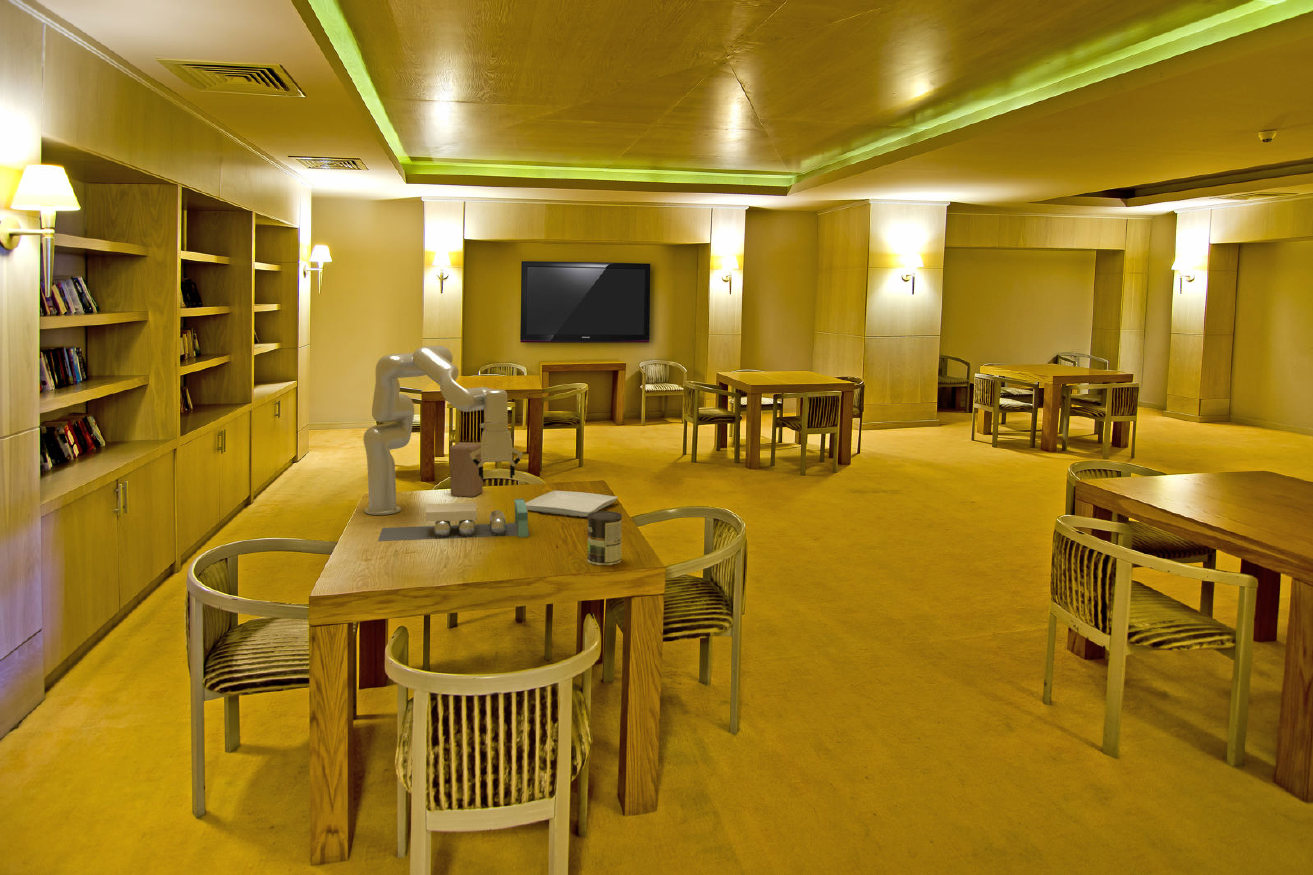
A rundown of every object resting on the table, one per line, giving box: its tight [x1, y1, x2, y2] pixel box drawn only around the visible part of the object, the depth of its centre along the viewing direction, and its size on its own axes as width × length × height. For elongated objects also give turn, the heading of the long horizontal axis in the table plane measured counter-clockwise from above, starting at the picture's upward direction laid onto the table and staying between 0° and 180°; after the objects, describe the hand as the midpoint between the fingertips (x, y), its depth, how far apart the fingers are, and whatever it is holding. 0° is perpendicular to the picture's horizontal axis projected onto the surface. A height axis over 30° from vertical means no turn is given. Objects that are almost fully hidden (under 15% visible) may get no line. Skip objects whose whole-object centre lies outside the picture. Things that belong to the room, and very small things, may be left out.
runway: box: [377, 498, 531, 542], centre depth 306 cm, size 21×48×8 cm, turn 102°
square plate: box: [525, 490, 619, 518], centre depth 344 cm, size 27×27×4 cm
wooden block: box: [449, 442, 484, 498], centre depth 364 cm, size 10×10×20 cm
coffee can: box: [586, 510, 623, 566], centre depth 276 cm, size 10×10×14 cm
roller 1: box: [434, 521, 452, 538], centre depth 305 cm, size 16×5×5 cm
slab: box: [425, 502, 478, 522], centre depth 305 cm, size 12×16×3 cm
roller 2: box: [458, 520, 476, 537], centre depth 307 cm, size 16×5×5 cm, turn 12°
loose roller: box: [489, 509, 507, 537], centre depth 309 cm, size 16×5×5 cm, turn 12°
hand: (496, 478), depth 307 cm, fingers open, 9 cm apart
